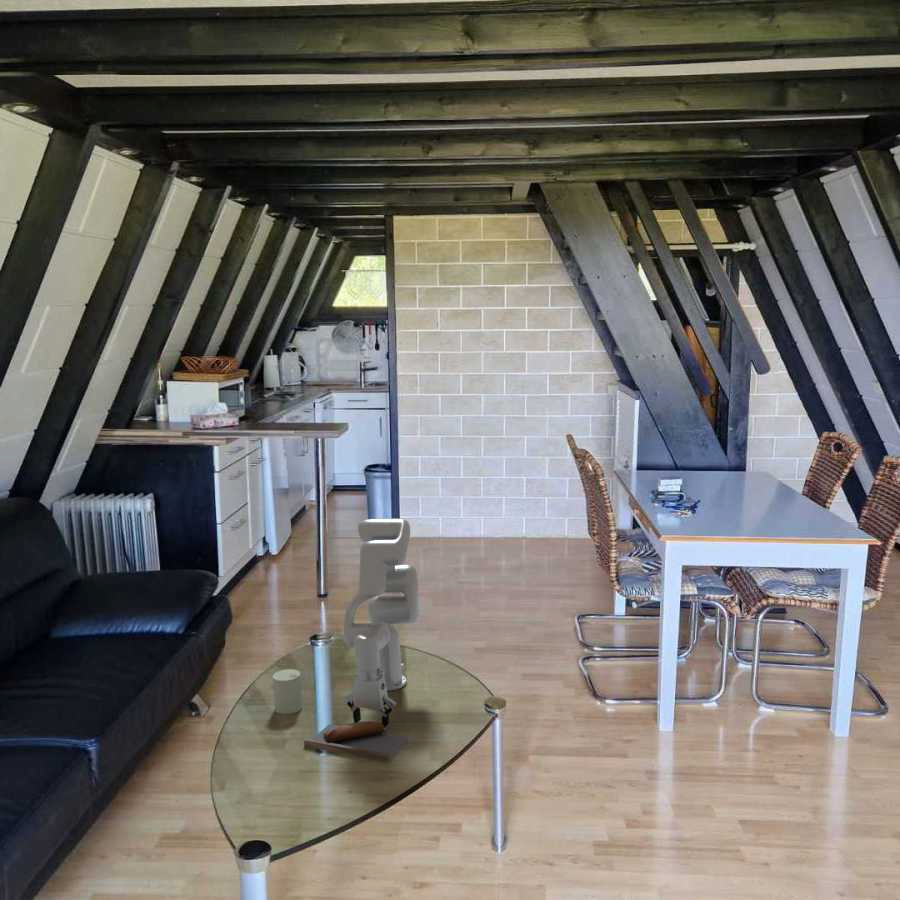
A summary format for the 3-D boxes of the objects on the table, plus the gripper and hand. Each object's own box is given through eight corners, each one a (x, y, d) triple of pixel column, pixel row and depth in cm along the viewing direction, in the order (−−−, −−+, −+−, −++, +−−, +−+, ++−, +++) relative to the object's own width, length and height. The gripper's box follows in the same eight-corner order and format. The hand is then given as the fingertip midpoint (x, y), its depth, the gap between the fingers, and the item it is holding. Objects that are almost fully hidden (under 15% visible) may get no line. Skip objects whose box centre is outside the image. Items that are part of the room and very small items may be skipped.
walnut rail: (306, 744, 248) (306, 738, 248) (389, 760, 237) (389, 753, 237) (304, 746, 247) (303, 740, 246) (387, 762, 236) (387, 755, 236)
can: (294, 715, 267) (291, 680, 265) (269, 712, 270) (266, 677, 268) (308, 703, 275) (305, 669, 274) (283, 700, 278) (281, 666, 276)
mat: (329, 724, 260) (329, 724, 260) (409, 739, 249) (409, 738, 249) (306, 744, 248) (306, 743, 248) (389, 760, 237) (389, 759, 237)
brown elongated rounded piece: (378, 722, 258) (380, 709, 254) (384, 741, 253) (386, 729, 249) (321, 733, 253) (322, 721, 248) (326, 754, 247) (327, 741, 243)
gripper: (399, 671, 253) (401, 722, 256) (349, 663, 260) (352, 714, 262) (388, 681, 246) (391, 734, 249) (337, 673, 253) (340, 725, 256)
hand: (371, 724), depth 256 cm, fingers open, 9 cm apart
